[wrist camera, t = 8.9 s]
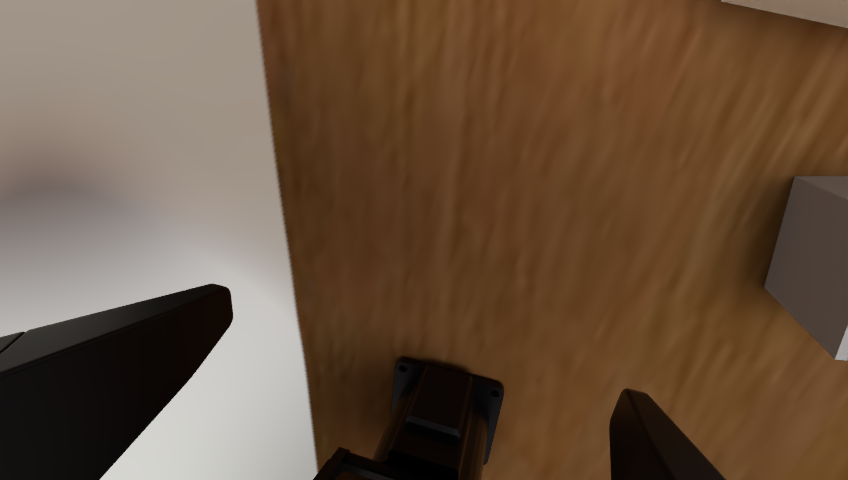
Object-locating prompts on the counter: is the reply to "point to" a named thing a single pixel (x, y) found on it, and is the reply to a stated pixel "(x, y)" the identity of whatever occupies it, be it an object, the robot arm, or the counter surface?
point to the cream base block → (803, 9)
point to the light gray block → (815, 260)
